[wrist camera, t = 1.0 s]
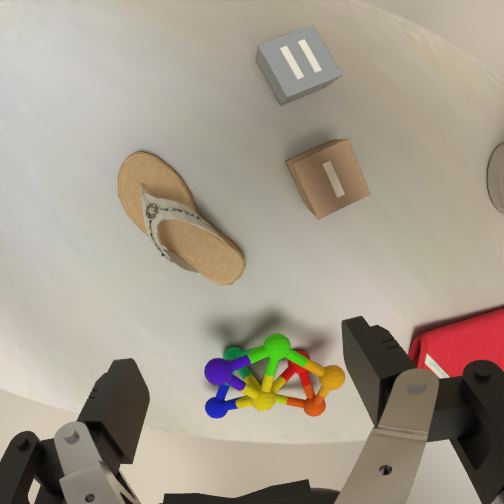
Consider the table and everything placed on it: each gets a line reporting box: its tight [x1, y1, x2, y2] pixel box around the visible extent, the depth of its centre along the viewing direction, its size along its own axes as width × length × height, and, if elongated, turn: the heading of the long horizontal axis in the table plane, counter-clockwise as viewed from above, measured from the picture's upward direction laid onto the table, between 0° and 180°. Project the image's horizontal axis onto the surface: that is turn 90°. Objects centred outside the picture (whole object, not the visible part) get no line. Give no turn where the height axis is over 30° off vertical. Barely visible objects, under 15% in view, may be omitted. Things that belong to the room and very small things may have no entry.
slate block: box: [256, 25, 342, 105], centre depth 24 cm, size 5×5×5 cm
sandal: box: [118, 152, 246, 285], centre depth 28 cm, size 7×16×5 cm, turn 49°
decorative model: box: [204, 333, 345, 418], centre depth 33 cm, size 13×9×15 cm
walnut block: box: [285, 139, 370, 219], centre depth 27 cm, size 5×5×5 cm
